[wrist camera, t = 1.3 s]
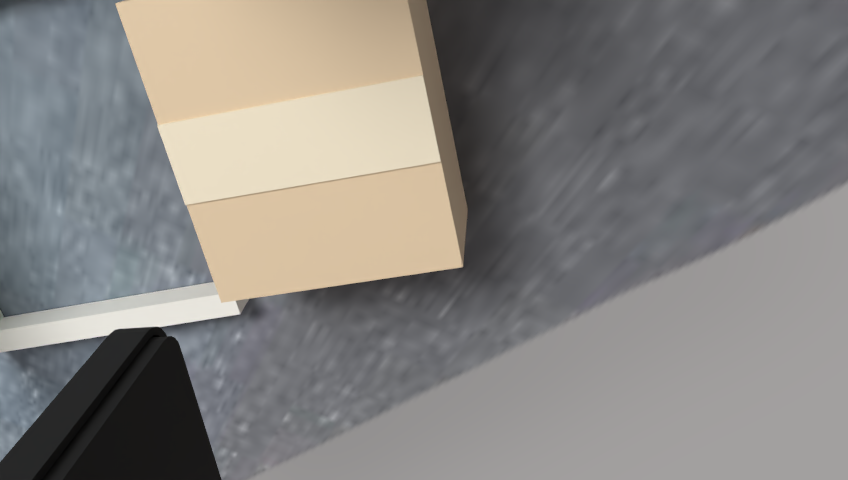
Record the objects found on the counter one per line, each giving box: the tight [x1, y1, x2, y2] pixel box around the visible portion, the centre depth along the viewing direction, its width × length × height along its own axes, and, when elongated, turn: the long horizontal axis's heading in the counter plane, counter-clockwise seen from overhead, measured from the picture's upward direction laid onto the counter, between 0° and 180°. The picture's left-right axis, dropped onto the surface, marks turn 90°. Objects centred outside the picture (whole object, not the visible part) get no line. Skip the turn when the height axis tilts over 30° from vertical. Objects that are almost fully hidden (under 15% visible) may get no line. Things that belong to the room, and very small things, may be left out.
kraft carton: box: [116, 0, 468, 303], centre depth 31 cm, size 10×12×6 cm
